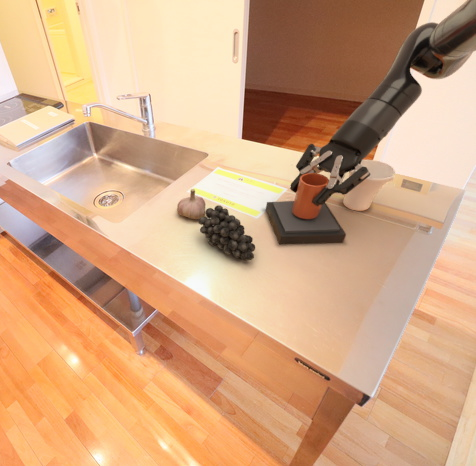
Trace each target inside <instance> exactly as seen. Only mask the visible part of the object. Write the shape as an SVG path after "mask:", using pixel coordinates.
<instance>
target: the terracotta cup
mask: <svg viewBox="0 0 476 466" xmlns="http://www.w3.org/2000/svg"><path fill="white" fill-rule="evenodd" d="M329 180H330V178H328V177H327V176H326V175H324V174H322V173H321V174H320V173H307V174H303V175H302V176H301V177H300V180H299V184H298V188H297V192H296V193H295V196H294V199H293V201H294V204H293V208H292V212H293V214H294V215H296V216H297V217H299V218H303V219H313V218H315V217H317V216H318V214H319V212H320V209H321V206H322V205H319V206H316V205H314V204H313V203H312V201H313V199H314V198H315V197H316V196H317V195H318V194H319V193H320V192H321V191H322V189H323V188H324V187H325V188H327V185H328V183H329Z"/></svg>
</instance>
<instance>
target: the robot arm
mask: <svg viewBox="0 0 476 466" xmlns="http://www.w3.org/2000/svg"><path fill="white" fill-rule="evenodd" d="M474 52H476V0H465V2H463V3H462V4H461V5H460V6H458V7H457V8H456V9H455V10H453V11H452V12H451V13H449V15H447V16H446V17H445V18H444V19H442V20H441V21H440V22H439V23H437V22H434V21H433V22H427V23H424V24H421V25H419V26H418V27H416V28H414V29H413V30H412V31H411V32H410V33H409V34H408V35H407V36H406V37H405V39H404V41H403V43H402V44H401V46H400V47H399V49H398V51H397V53H396V55H395V57H394V60H393V61H392V63H391V66H390V67H389V69H388V70H387V73H386V74H385V76H384V77H383V79H382V80H381V82H380V83H379V84H378V85H377V86H376V88H375V89H374V90H373V91H372V92H371V93H370V95H369V96H368V97H367V98H366V99H365V100H364V101H363V102H362V103H361V104H360V105H358V107H356V109H355V110H354V111H352V113H351V114H350V115H349V116H348V118H347V119H346V120H345V121H344V122H343V123H342V125H341V126H340V127H339V128H338V129H337V130H336V132H335V133H334V134H333V135H332V136H331V138H330V140H329V141H328V143H327V144H325V145H323V146H317V145H315V144H314V143H309V144H308V145H307V147H306V148H305V151H304V152H303V153H302V155H301V157H300V159H299V160H298V162H297V163H296V165H295V168H296V169H297V171H298V172H299V174H297V176H296V177H295V179H294V180H293V181H292V182H291V183H290V187H289V189H290V191H292V192H293V193H295V194H296V192H297V188H298V184H299V180H300V177H301V176H302V175H303V174H307V173H317V174H320V173H322V172H325V173H329V183H328V185H327V188H325V187H324V188H323V189H322V191H321V192H320V193H319V194H318V195H317V196H316V197H315V198H314V199H313V201H312V203H313V204H314V205H316V206H319V205H323V204H324V203H326V202H327V201H328V200H329V199H330V198H331V197H332V195H334V194H341V195H343V196H345V195H346V194H347V193H348V192H350V191H351V190H352V189H353V188H355V187H356V186H357V185H359V184H360V183H361V182H362V181H364V180H365V179H366V178H368V177H369V176H370V172H369V170H368V169H367V168H366V167H363V166H361V165H360V164H361V161H362V160H365V159H366V158H367V157H368V156H369V154H371V152H372V151H373V150H374V149H375V148H376V147H377V146H378V145H379V143H381V142H382V141H383V139H384V138H386V137H387V136H388V134H389V133H390V132H391V131H392V129H393V128H394V127H395V125H396V124H397V122H399V120H400V119H401V118H402V117H403V116H404V114H405V113H406V112H407V111H408V110H409V109H410V108H411V107H412V106H413V105H414V104H415V103H416V102H417V100H418V99H419V98H420V96H421V95H422V93H423V88H422V86H421V84H420V83H419V81H418V80H417V79H416V78H415V77H414V76H413V75H412V72H411V69H412V70H413V71H415V72H417V73H419V74H421V75H423V76H424V77H426V78H428V79H431V80H443V79H447V78H449V77H450V76H452V75H453V74H455V73H456V72H458V71H459V69H461V68H462V67H463V66H464V65H465V63H466V62H467V61H468V60H469V59H470V57H471V56H472V54H473V53H474ZM314 158H315V159H314ZM352 170H354V171H353V174H352V175H351V176H350V177H349V176H348V177H347V178H346V179H345V180H344V178H345V176H346V174H347V173H349V171H352Z"/></svg>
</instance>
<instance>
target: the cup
mask: <svg viewBox="0 0 476 466" xmlns="http://www.w3.org/2000/svg"><path fill="white" fill-rule="evenodd" d="M360 165H361V166H363V167H366V168H367V169H368V170H369V172H370V176H369V177H368V178H366V179H365V180H364V181H362V182H361V183H360V184H359V185H357V186H356V187H355V188H353V189H352V190H351V191H350V192H348V193H347V194H345V195H344V198H343V200H342V203H343V205H344V207H346V208H348V209H349V210H352V211H359V212H361V211H362V212H363V211H366V210H369V208H370V207H371V205H372V203H373V200H374V198H375V197H376V195H377V194H378V193H379V191H380V190H381V189H382V188H383V187H384V185H386V184H387V183H388V182H391V181H392V182H393V180H394V179H395V176H396V170H395V169H394V167H393V166H392V165H390V164H388V163H386V162H383V161H380V160H375V159H363V160H362V161H361V164H360ZM353 171H354V170H352V171H349V172H348V178H349V177H350V176H351V175H352V174H353Z"/></svg>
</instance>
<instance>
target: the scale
mask: <svg viewBox="0 0 476 466" xmlns="http://www.w3.org/2000/svg"><path fill="white" fill-rule="evenodd" d="M293 204H294V200H284V201H283V200H282V201H267V202H266V206H265V213H266V214H267V217H268V220H269V222H270V224H271V227H272V229H273V232H274V235H275V237H276V239H277V242H278V244H279V245H303V244H305V245H306V244H307V245H308V244H311V245H312V244H339V243H344V241H345V238H346V236H347V234H346V232H345V229H344V228H343V227H342V225H341V224H340V223H339V221H338V220H337V218H336V216H335V215H334V213H333V212H332V210H331V209H330V207H329V206H328V204H327V203H326V202H325V203H324V204H323V205H322V206H321V209H320V212H319V214H318V216H317V217H315V218H313V219H303V218H299V217H297V216H296V215H294V214H293V212H292V208H293Z"/></svg>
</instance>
